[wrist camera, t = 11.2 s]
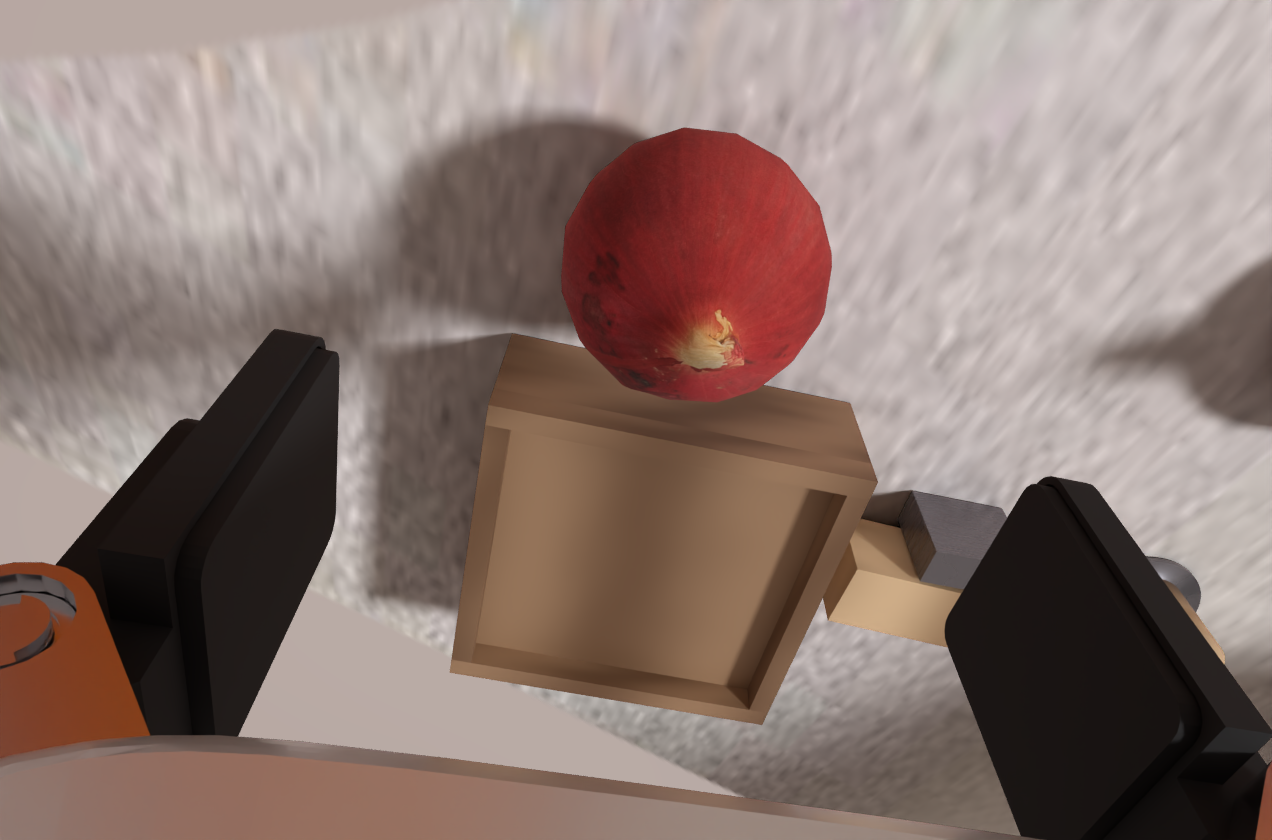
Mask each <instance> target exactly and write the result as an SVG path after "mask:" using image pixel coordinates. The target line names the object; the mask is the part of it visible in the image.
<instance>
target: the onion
mask: <svg viewBox="0 0 1272 840" xmlns="http://www.w3.org/2000/svg"><path fill="white" fill-rule="evenodd" d="M831 268H832V255H831V249H830V245H829V241H828V237H827V234H826V230H825V226H824V222H823V218H822V214H821V210H820V207H819V205H818V203H817V202H816V201H815V200H814V198H813V197H812V196H811V194H810V193H809V192H808V190H807V189H806V188H805V187H804V185H803V184H802V183H801V181H800V180H799V179H798V177H797V176H796V175H795V174H794V172H793V171H792V170H791V168H790V167H789V166H788V164H786V163H785V162H784V161H783V160H782V159H781V158H779V157H777V156H776V155H774V154H772V153H770V152H768V151H767V150H765V149H763V148H761V147H760V146H758V145H756V144H754V143H752V142H751V141H749V140H747V139H745V138H743V137H742V136H740V135H738V134H735V133H727V132H718V131H709V130H701V129H692V128H681V129H678V130H675V131H672V132H669V133H665V134H662V135H659V136H656V137H653V138H650V139H647V140H644V141H640V142H637V143H634V144H633V145H632V146H630V147H629V148H628V149H627V150H626V151H624V152H623V153H622V154H621V155H620V156H618V157H617V158H616V159H615V160H614V161H612V162H611V163H610V164H609V165H607V166H606V167H605V168H604V169H603V170H601V171H600V172H599V173H598V174H597V175H596V176H595V177H594V178H593V180H592V181H591V182H590V183H589V185H588V187H587V189H586V190H585V192H584V194H583V196H582V198H581V199H580V201H579V203H578V205H577V207H576V208H575V210H574V212H573V214H572V216H571V217H570V219H569V221H568V223H567V225H566V226H565V237H564V249H563V261H562V274H561V283H562V293H563V296H564V299H565V301H566V304H567V307H568V310H569V312H570V315H571V318H572V320H573V323H574V326H575V328H576V331H577V334H578V337H579V339H580V341H581V342H582V343H583V345H584V346H585V348H586V349H587V350H588V351H589V352H590V353H591V354H592V355H593V356H594V357H595V358H596V359H597V360H598V361H599V362H600V363H601V364H602V365H603V366H604V367H605V368H606V369H607V370H608V371H609V372H610V373H611V374H612V375H613V376H614V377H615V378H616V379H617V380H618V381H619V382H620V383H621V384H622V385H623V386H625V387H628V388H630V389H633V390H637V391H641V392H645V393H649V394H652V395H655V396H658V397H662V398H665V399H668V400H685V401H701V402H720V401H723V400H727V399H730V398H733V397H736V396H739V395H742V394H746V393H749V392H752V391H755V390H757V389H758V388H760V387H761V386H762V385H764V384H765V383H766V382H767V381H769V380H770V379H771V378H773V377H774V376H775V375H776V374H778V373H779V372H780V371H781V370H783V369H784V368H785V367H787V366H788V365H789V364H790V363H791V362H792V361H793V360H794V359H795V357H796V356H797V354H798V353H799V352H800V350H801V349H802V348H803V346H804V345H805V343H806V342H807V341H808V339H809V338H810V336H811V335H812V334H813V332H814V331H815V329H816V328H817V327H818V325H819V324H820V321H821V319H822V317H823V315H824V312H825V306H826V300H827V293H828V287H829V281H830V274H831Z"/></svg>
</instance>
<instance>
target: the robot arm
mask: <svg viewBox="0 0 1272 840" xmlns="http://www.w3.org/2000/svg"><path fill="white" fill-rule="evenodd" d="M338 399H339V356H338V353H337V352H334V351H328V350H326V349H325V343H324V340H323V339H322V338H321V337H316V336H311V335H306V334H300V333H295V332H290V331H284V330H279V329H274V330H273V331H272V332H271V333H270V334H269V335H268V336H267V338H266V339H265V340H264V341H263V343H262V344H261V345H260V346H259V348H258V349H257V350H256V351H255V353H254V354H253V355H252V356H251V358H250V359H249V360H248V361H247V363H246V364H245V365H244V366H243V368H242V369H241V370H240V371H239V373H238V374H237V375H236V376H235V378H234V379H233V380H232V381H231V383H230V384H229V385H228V386H227V388H226V389H225V390H224V391H223V392H222V394H221V395H220V396H219V397H218V399H217V400H216V401H215V402H214V404H213V405H212V406H211V407H210V409H209V410H208V411H207V412H206V414H205V415H204V416H203V417H202V419H201V420H200V421H199V420H193V419H183V420H179V421H178V422H177V423H176V424H175V425H174V426H173V427H171V429H170V430H169V431H168V432H167V433H166V434H165V436H164V437H163V438H162V439H161V440H160V442H159V443H158V444H157V445H156V446H155V447H154V449H153V450H152V451H151V452H150V453H149V455H148V456H147V457H146V458H145V459H144V460H143V462H142V463H141V464H140V465H139V466H138V468H137V469H136V470H135V471H134V472H133V474H132V475H131V476H130V477H129V478H128V479H127V481H126V482H125V483H124V484H123V485H122V487H121V488H120V489H119V490H118V491H117V492H116V494H115V495H114V496H113V497H112V498H111V500H110V501H109V502H108V503H107V504H106V506H105V507H104V508H103V509H102V510H101V512H100V513H99V514H98V515H97V516H96V517H95V519H94V520H93V521H92V522H91V523H90V525H89V526H88V527H87V528H86V529H85V530H84V532H83V533H82V534H81V535H80V536H79V538H78V539H77V540H76V541H75V542H74V544H73V545H72V546H71V547H70V548H69V549H68V551H67V552H66V553H65V554H64V555H63V556H62V558H61V559H60V560H59V561H58V562H57V564H56V565H52V564H47V563H42V562H14V563H8V564H3V565H0V840H1272V761H1271V762H1270V763H1269V764H1268V765H1267V764H1266V763H1265V761H1264V760H1263V759H1262V757H1261V756H1260V754H1259V753H1258V750H1259V749H1260V748H1261V747H1263V746H1264V745H1265V744H1266V743H1267V742H1268V741H1269V740H1270V739H1271V738H1272V730H1271V728H1270V727H1269V726H1268V724H1267V723H1266V722H1265V720H1264V719H1263V717H1262V716H1261V715H1260V713H1259V712H1258V710H1257V709H1256V708H1255V706H1254V705H1253V704H1252V702H1251V701H1250V699H1249V698H1248V697H1247V695H1246V694H1245V693H1244V691H1243V690H1242V688H1241V687H1240V686H1239V684H1238V683H1237V682H1236V680H1235V679H1234V677H1233V676H1232V675H1231V673H1230V672H1229V671H1228V669H1227V668H1226V666H1225V665H1224V664H1223V662H1222V661H1221V660H1220V658H1219V657H1218V655H1217V654H1216V653H1215V651H1214V650H1213V648H1212V647H1211V646H1210V644H1209V643H1208V642H1207V640H1206V639H1205V637H1204V636H1203V635H1202V633H1201V632H1200V631H1199V629H1198V628H1197V626H1196V625H1195V624H1194V622H1193V621H1192V620H1191V618H1190V617H1189V615H1188V614H1187V613H1186V611H1185V610H1184V609H1183V607H1182V606H1181V604H1180V603H1179V602H1178V600H1177V599H1176V598H1175V596H1174V595H1173V593H1172V592H1171V591H1170V589H1169V588H1168V587H1167V585H1166V584H1165V582H1164V581H1163V580H1162V578H1161V577H1160V575H1159V574H1158V573H1157V571H1156V570H1155V569H1154V567H1153V566H1152V564H1151V563H1150V562H1149V560H1148V559H1147V558H1146V556H1145V555H1144V553H1143V552H1142V551H1141V549H1140V548H1139V547H1138V545H1137V544H1136V542H1135V541H1134V540H1133V538H1132V537H1131V536H1130V534H1129V533H1128V531H1127V530H1126V529H1125V527H1124V526H1123V525H1122V523H1121V522H1120V520H1119V519H1118V518H1117V516H1116V515H1115V513H1114V512H1113V511H1112V509H1111V508H1110V507H1109V505H1108V504H1107V502H1106V501H1105V500H1104V498H1103V497H1102V496H1101V494H1100V493H1099V491H1098V490H1097V489H1096V488H1095V487H1094V486H1093V485H1091V484H1088V483H1083V482H1078V481H1073V480H1068V479H1062V478H1057V477H1052V476H1050V477H1045V478H1043V479H1042V480H1040V481H1039V482H1038V483H1037V484H1032V485H1030V486H1028V487H1027V488H1026V489H1025V490H1024V491H1023V493H1022V495H1021V496H1020V498H1019V499H1018V501H1017V503H1016V504H1015V506H1014V508H1013V509H1012V511H1011V513H1010V514H1009V516H1008V518H1007V519H1006V521H1005V522H1004V524H1003V526H1002V527H1001V529H1000V531H999V532H998V534H997V536H996V537H995V539H994V541H993V542H992V544H991V545H990V547H989V549H988V550H987V552H986V554H985V555H984V557H983V559H982V560H981V562H980V564H979V565H978V567H977V568H976V570H975V572H974V573H973V575H972V577H971V578H970V580H969V582H968V583H967V585H966V587H965V588H964V590H963V592H962V593H961V595H960V596H959V598H958V600H957V601H956V603H955V605H954V606H953V608H952V610H951V611H950V613H949V615H948V617H947V619H946V623H945V630H944V633H945V640H946V644H947V646H948V649H949V652H950V654H951V657H952V659H953V662H954V664H955V667H956V670H957V672H958V675H959V677H960V680H961V683H962V685H963V688H964V690H965V693H966V695H967V698H968V701H969V703H970V706H971V708H972V711H973V713H974V716H975V719H976V721H977V724H978V726H979V729H980V731H981V734H982V737H983V739H984V742H985V744H986V747H987V750H988V752H989V755H990V757H991V760H992V762H993V765H994V768H995V770H996V773H997V775H998V778H999V780H1000V783H1001V786H1002V788H1003V791H1004V793H1005V796H1006V798H1007V801H1008V804H1009V806H1010V809H1011V811H1012V814H1013V817H1014V819H1015V822H1016V824H1017V827H1018V829H1019V832H1020V835H1021V836H1015V835H1008V834H1001V833H994V832H987V831H980V830H973V829H966V828H959V827H952V826H945V825H938V824H931V823H924V822H917V821H909V820H902V819H895V818H888V817H881V816H873V815H866V814H859V813H852V812H845V811H837V810H830V809H823V808H816V807H808V806H801V805H794V804H787V803H779V802H772V801H765V800H757V799H750V798H743V797H735V796H728V795H721V794H713V793H706V792H699V791H691V790H684V789H676V788H669V787H662V786H654V785H647V784H639V783H631V782H624V781H616V780H609V779H601V778H594V777H586V776H579V775H571V774H563V773H556V772H548V771H540V770H532V769H525V768H518V767H510V766H503V765H495V764H488V763H480V762H472V761H464V760H457V759H450V758H441V757H431V756H424V755H415V754H406V753H398V752H389V751H380V750H372V749H362V748H355V747H346V746H337V745H327V744H319V743H311V742H303V741H290V740H277V739H263V738H249V737H238V735H239V733H240V731H241V728H242V726H243V724H244V722H245V720H246V718H247V715H248V713H249V711H250V709H251V707H252V705H253V703H254V701H255V698H256V696H257V694H258V692H259V690H260V688H261V685H262V683H263V681H264V679H265V677H266V675H267V673H268V671H269V669H270V666H271V664H272V662H273V660H274V658H275V655H276V653H277V651H278V649H279V647H280V645H281V643H282V641H283V639H284V636H285V634H286V632H287V630H288V628H289V626H290V624H291V622H292V619H293V617H294V615H295V613H296V611H297V609H298V606H299V604H300V602H301V600H302V598H303V596H304V594H305V592H306V589H307V587H308V585H309V583H310V581H311V579H312V577H313V575H314V572H315V570H316V568H317V566H318V564H319V562H320V560H321V557H322V555H323V553H324V551H325V549H326V547H327V545H328V542H329V540H330V537H331V534H332V531H333V527H334V522H335V515H336V482H337V440H338Z"/></svg>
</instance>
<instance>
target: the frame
mask: <svg viewBox="0 0 1272 840" xmlns="http://www.w3.org/2000/svg"><path fill="white" fill-rule="evenodd" d="M1006 519H1007V517H1006V515H1005V513H1004V511H1003V509H1002V508H997V507H992V506H987V505H982V504H977V503H972V502H967V501H962V500H957V499H951V498H946V497H941V496H936V495H931V494H926V493H921V492H916V491H912V492H911V494H910V496H909V498H908V500H907V502H906V504H905V506H904V508H903V510H902V512H901V514H900V516H899V518H898V522H899V525H900V528H901V530H902V533H903V536H904V539H905V541H906V544H907V547H908V550H909V552H910V555H911V558H912V561H913V563H914V566H915V569H916V572H917V575H918V577H919V580H920V581H921V582H926V583H932V584H937V585H942V586H948V587H953V588H958V589H964V588H965V587H966V585H967V583H968V582H969V580H970V578H971V577H972V575H973V573H974V572H975V570H976V568H977V567H978V565H979V564H980V562H981V560H982V559H983V557H984V555H985V554H986V552H987V550H988V549H989V547H990V545H991V544H992V542H993V541H994V539H995V537H996V536H997V534H998V532H999V531H1000V529H1001V527H1002V526H1003V524H1004V522H1005V521H1006ZM1146 558H1147V559H1148V560H1149V562H1150V563H1151V564H1152V566H1153V567H1154V569H1155V570H1156V571H1157V573H1158V574H1159V575H1160V577H1161V578H1162V579H1163V580H1166V581H1169V582H1171V583H1172V584H1174V585H1175V586H1176V587H1177V588H1178V589H1179V590H1180V592H1181V593H1182V594H1183V596H1184V597H1185V599H1186V600H1187V601H1188V603H1189V604H1190V606H1191V607H1192V608H1193V610H1194V611H1195V612H1196V611H1197V609H1198V607H1199V604H1200V599H1201V591H1200V587H1199V584H1198V582H1197V580H1196V579H1195V578H1194V576H1193V575H1192V574H1191V572H1190V571H1189V570H1188V569H1186V568H1185V567H1184V566H1182V565H1180V564H1179V563H1176V562H1174V561H1171V560H1167V559H1163V558H1156V557H1146Z"/></svg>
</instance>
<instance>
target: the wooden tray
mask: <svg viewBox="0 0 1272 840" xmlns="http://www.w3.org/2000/svg"><path fill="white" fill-rule="evenodd" d="M877 483H878V481H877V478H876V475H875V472H874V469H873V467H872V464H871V461H870V458H869V455H868V452H867V449H866V447H865V444H864V441H863V438H862V435H861V432H860V430H859V427H858V424H857V421H856V418H855V415H854V412H853V410H852V407H851V404H850V403H847V402H842V401H837V400H832V399H827V398H822V397H818V396H813V395H808V394H803V393H798V392H793V391H788V390H784V389H779V388H774V387H769V386H764V385H762V386H761V387H760V388H758V389H757V390H755V391H752V392H749V393H746V394H742V395H739V396H736V397H733V398H730V399H727V400H723V401H720V402H701V401H685V400H668V399H665V398H662V397H658V396H655V395H652V394H649V393H645V392H641V391H637V390H633V389H630V388H628V387H625V386H623V385H622V384H621V383H620V382H619V381H618V380H617V379H616V378H615V377H614V376H613V375H612V374H611V373H610V372H609V371H608V370H607V369H606V368H605V367H604V366H603V365H602V364H601V363H600V362H599V361H598V360H597V359H596V358H595V357H594V356H593V355H592V354H591V353H590V352H589V351H588V350H587V349H585V348H581V347H576V346H571V345H566V344H561V343H556V342H551V341H547V340H542V339H537V338H532V337H527V336H522V335H518V334H513V333H512V335H511V338H510V341H509V344H508V347H507V350H506V353H505V356H504V359H503V362H502V365H501V368H500V371H499V374H498V377H497V380H496V383H495V386H494V389H493V392H492V395H491V398H490V401H489V404H488V409H487V416H486V423H485V430H484V437H483V444H482V451H481V458H480V465H479V472H478V479H477V486H476V493H475V500H474V507H473V513H472V520H471V527H470V534H469V541H468V548H467V555H466V562H465V569H464V576H463V583H462V590H461V597H460V604H459V611H458V618H457V625H456V632H455V639H454V646H453V653H452V660H451V667H450V673H455V674H461V675H467V676H473V677H479V678H486V679H491V680H497V681H503V682H509V683H515V684H521V685H527V686H533V687H539V688H545V689H551V690H557V691H563V692H569V693H575V694H581V695H587V696H593V697H599V698H605V699H611V700H617V701H623V702H629V703H635V704H641V705H646V706H652V707H658V708H664V709H670V710H676V711H682V712H688V713H694V714H700V715H706V716H712V717H718V718H724V719H730V720H736V721H742V722H748V723H754V724H760V725H762V724H763V722H764V720H765V718H766V715H767V713H768V711H769V709H770V707H771V705H772V703H773V701H774V699H775V697H776V695H777V692H778V690H779V688H780V686H781V684H782V682H783V680H784V678H785V676H786V674H787V672H788V669H789V667H790V665H791V663H792V661H793V659H794V657H795V655H796V653H797V651H798V648H799V646H800V644H801V642H802V640H803V638H804V636H805V634H806V632H807V630H808V628H809V625H810V623H811V621H812V619H813V617H814V615H815V613H816V611H817V609H818V607H819V605H820V602H821V600H822V598H823V596H824V594H825V592H826V590H827V588H828V586H829V584H830V582H831V579H832V577H833V575H834V573H835V571H836V569H837V567H838V565H839V563H840V561H841V559H842V556H843V554H844V552H845V550H846V548H847V546H848V544H849V542H850V540H851V538H852V536H853V533H854V531H855V529H856V527H857V525H858V523H859V521H860V519H861V517H862V515H863V513H864V510H865V508H866V506H867V504H868V502H869V500H870V498H871V496H872V494H873V492H874V490H875V487H876V485H877Z"/></svg>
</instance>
